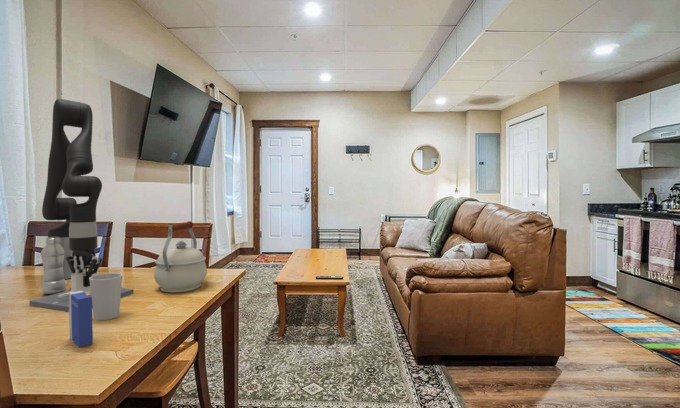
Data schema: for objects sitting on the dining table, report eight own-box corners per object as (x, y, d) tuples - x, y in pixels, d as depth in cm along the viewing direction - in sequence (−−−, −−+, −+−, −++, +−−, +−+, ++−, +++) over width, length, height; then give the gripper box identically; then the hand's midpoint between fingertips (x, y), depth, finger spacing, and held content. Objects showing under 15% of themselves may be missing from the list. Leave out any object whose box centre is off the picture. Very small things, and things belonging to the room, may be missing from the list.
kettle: (190, 297, 117) (189, 226, 116) (139, 295, 118) (138, 225, 117) (219, 278, 142) (219, 219, 141) (178, 276, 143) (177, 219, 142)
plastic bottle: (52, 296, 115) (50, 239, 114) (36, 295, 117) (35, 238, 116) (70, 291, 122) (69, 236, 121) (55, 290, 123) (54, 235, 122)
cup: (87, 323, 94) (86, 281, 93) (92, 313, 101) (92, 274, 100) (121, 318, 97) (120, 278, 97) (124, 309, 104) (123, 271, 104)
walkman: (93, 343, 82) (92, 295, 81) (79, 347, 80) (78, 298, 79) (82, 334, 87) (82, 288, 86) (69, 338, 85) (68, 291, 84)
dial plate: (29, 305, 107) (29, 300, 107) (91, 287, 126) (91, 283, 126) (75, 312, 101) (75, 307, 101) (133, 293, 120) (133, 288, 120)
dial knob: (87, 289, 119) (87, 268, 118) (104, 292, 116) (104, 270, 116) (49, 300, 107) (49, 277, 107) (68, 303, 105) (67, 279, 104)
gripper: (109, 234, 114) (110, 285, 115) (79, 232, 118) (80, 281, 119) (87, 237, 107) (88, 291, 108) (56, 235, 111) (57, 287, 112)
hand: (84, 285), depth 113 cm, fingers closed on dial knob, 2 cm apart
